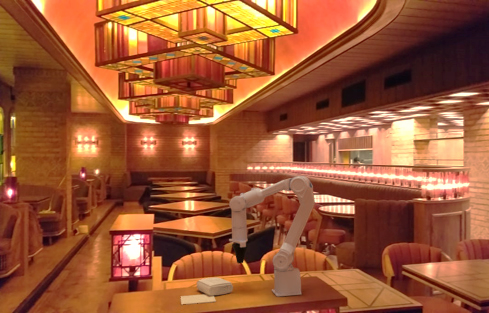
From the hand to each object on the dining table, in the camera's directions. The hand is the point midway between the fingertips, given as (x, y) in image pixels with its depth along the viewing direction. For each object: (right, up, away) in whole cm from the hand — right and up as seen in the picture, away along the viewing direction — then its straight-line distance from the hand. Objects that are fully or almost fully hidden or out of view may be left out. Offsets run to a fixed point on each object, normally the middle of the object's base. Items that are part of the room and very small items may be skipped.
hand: (240, 262), depth 158 cm
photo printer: (-7, -8, -6) cm, 12 cm away
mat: (-15, -10, -10) cm, 21 cm away
